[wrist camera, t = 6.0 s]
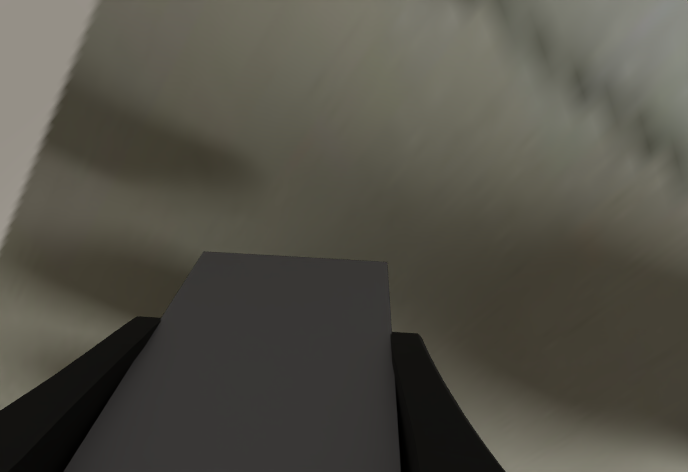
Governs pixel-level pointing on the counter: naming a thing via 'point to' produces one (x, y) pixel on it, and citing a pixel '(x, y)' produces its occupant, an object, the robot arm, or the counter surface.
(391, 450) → the domino
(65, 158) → the counter surface
